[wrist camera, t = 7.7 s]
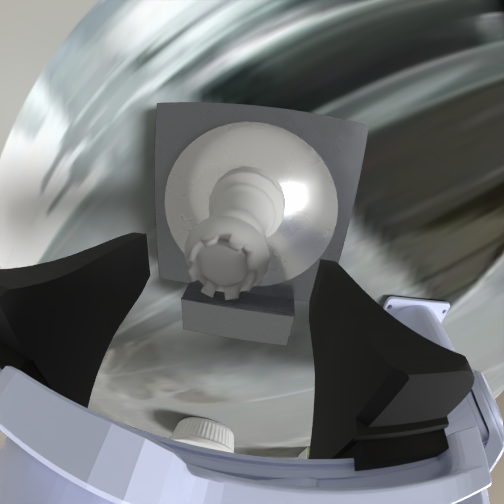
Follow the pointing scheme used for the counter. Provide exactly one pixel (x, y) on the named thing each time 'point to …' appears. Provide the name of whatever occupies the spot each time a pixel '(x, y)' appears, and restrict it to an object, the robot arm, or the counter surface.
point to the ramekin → (204, 434)
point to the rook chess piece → (235, 232)
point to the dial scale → (296, 210)
